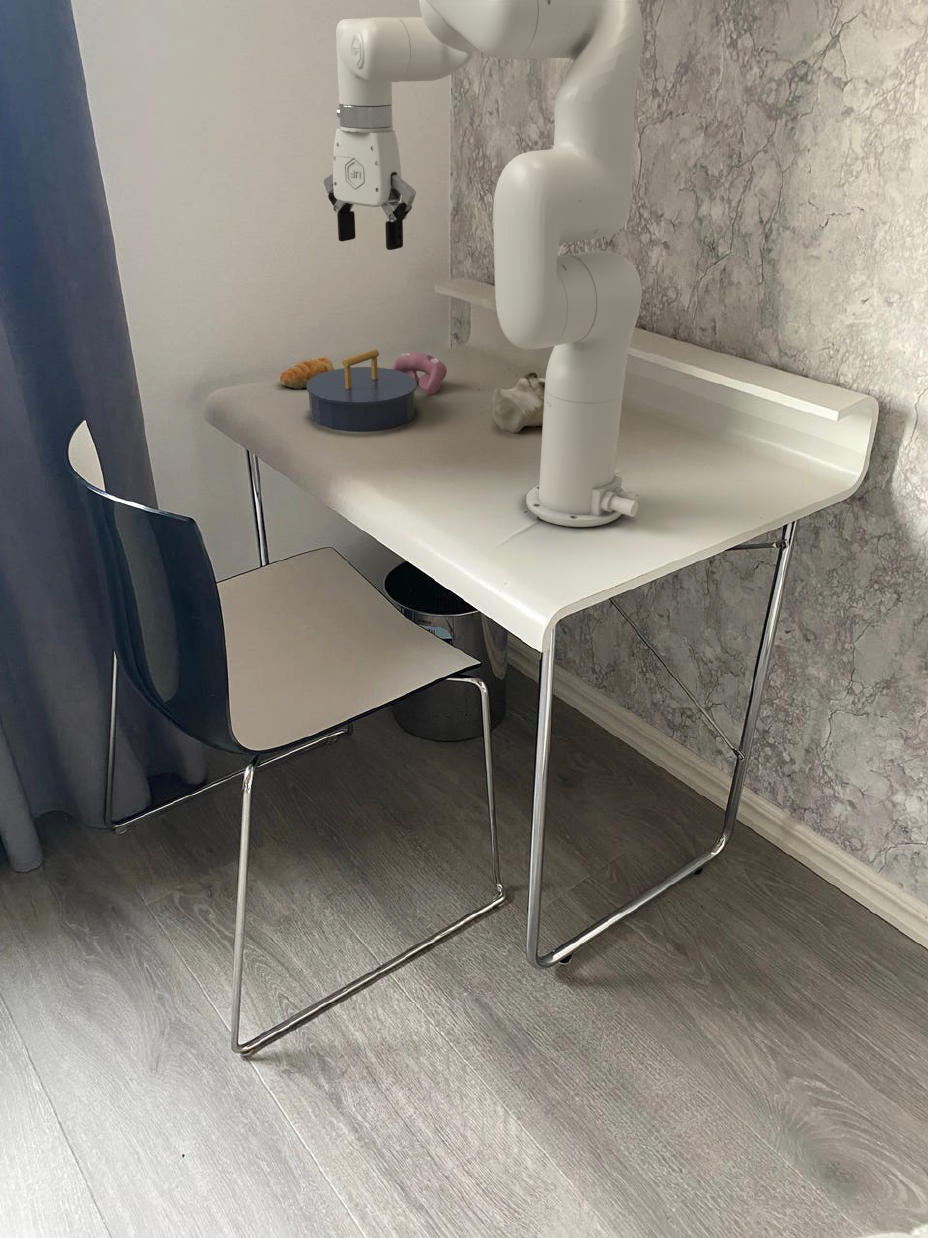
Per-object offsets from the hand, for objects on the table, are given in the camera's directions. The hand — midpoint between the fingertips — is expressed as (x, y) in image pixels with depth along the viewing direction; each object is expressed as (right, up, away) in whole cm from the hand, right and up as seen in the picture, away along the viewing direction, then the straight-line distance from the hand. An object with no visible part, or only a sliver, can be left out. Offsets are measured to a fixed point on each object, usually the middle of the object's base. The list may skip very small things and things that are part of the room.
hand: (370, 244), depth 152 cm
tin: (-2, -25, +6) cm, 26 cm away
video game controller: (+6, -18, +17) cm, 26 cm away
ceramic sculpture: (+25, -27, +3) cm, 37 cm away
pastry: (-12, -17, +19) cm, 28 cm away
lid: (-2, -21, +3) cm, 21 cm away
